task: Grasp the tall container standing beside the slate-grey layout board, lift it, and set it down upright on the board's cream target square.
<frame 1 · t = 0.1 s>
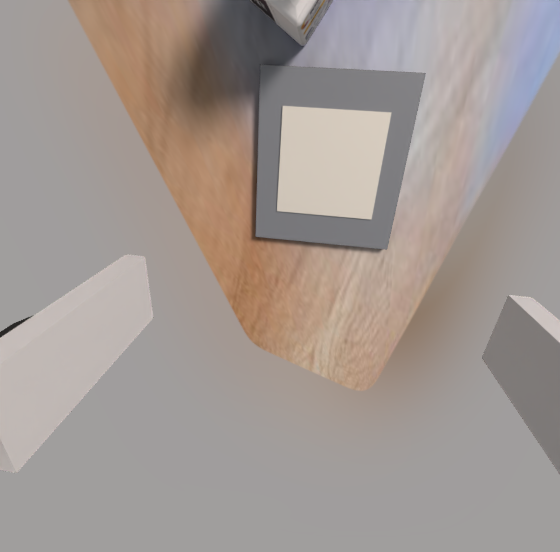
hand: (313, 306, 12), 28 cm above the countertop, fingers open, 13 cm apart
layout board: (329, 164, 36), on the countertop
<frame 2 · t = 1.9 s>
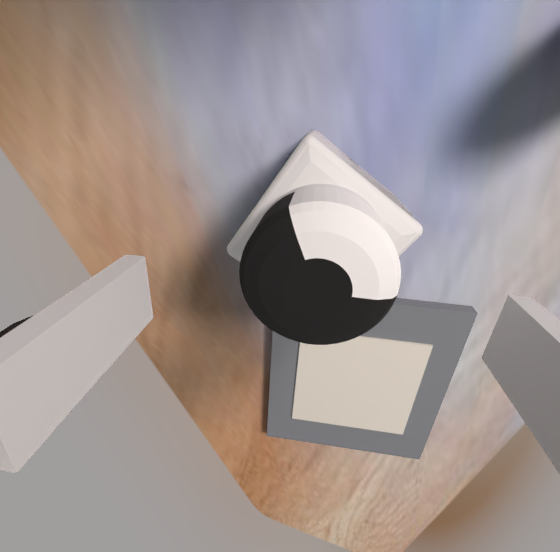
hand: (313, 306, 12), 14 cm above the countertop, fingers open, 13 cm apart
layout board: (354, 376, 31), on the countertop
container: (321, 206, 24), on the countertop
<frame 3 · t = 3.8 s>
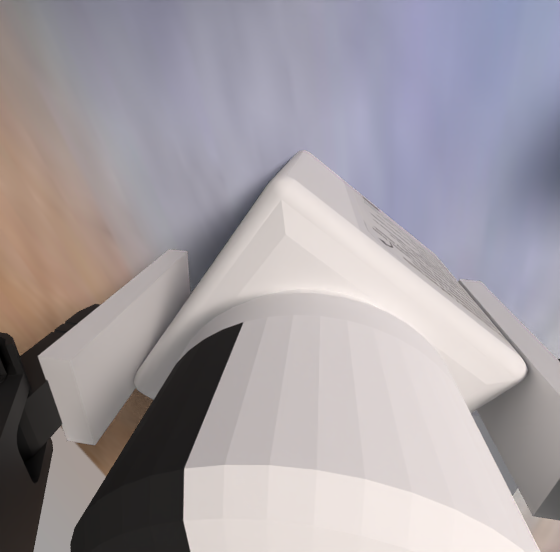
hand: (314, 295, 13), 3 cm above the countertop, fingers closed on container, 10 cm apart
layout board: (364, 488, 22), on the countertop
container: (316, 265, 16), on the countertop, touching gripper
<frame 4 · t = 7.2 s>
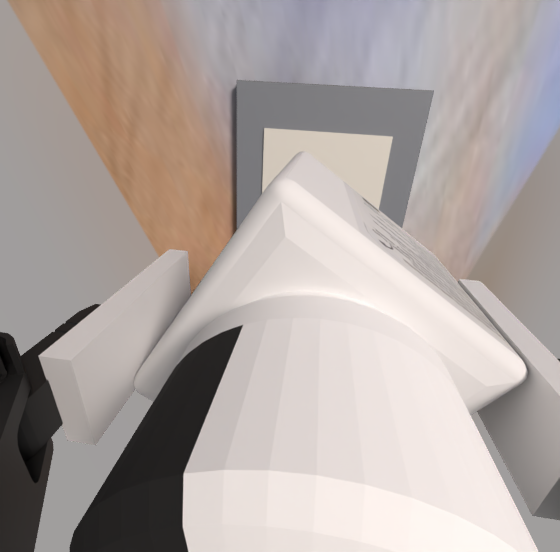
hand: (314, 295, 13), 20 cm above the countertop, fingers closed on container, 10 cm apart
layout board: (320, 194, 31), on the countertop
container: (316, 266, 16), point 17 cm above the countertop, touching gripper
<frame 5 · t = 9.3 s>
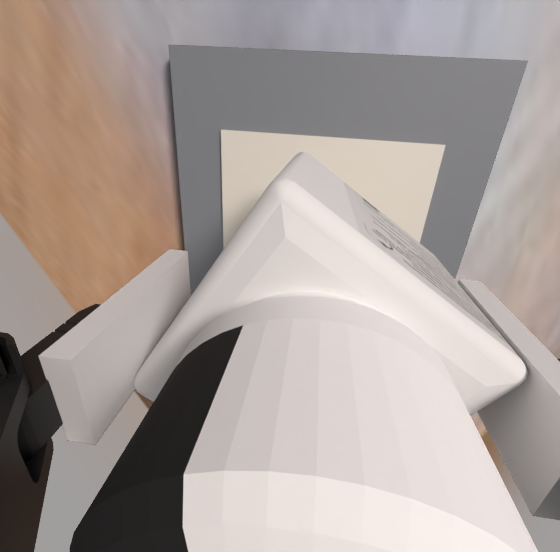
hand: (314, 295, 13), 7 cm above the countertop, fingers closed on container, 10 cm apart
layout board: (318, 235, 19), on the countertop
container: (316, 266, 16), point 4 cm above the countertop, touching gripper
when the fingers open (5 cm above the countertop, at t = 10.8 s): container drops 1 cm, resting on layout board.
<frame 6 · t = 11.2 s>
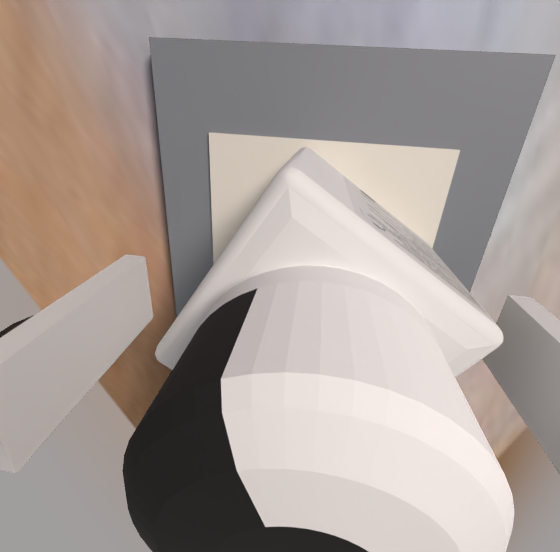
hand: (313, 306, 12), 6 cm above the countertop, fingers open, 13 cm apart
layout board: (317, 248, 18), on the countertop
container: (317, 254, 17), point 1 cm above the countertop, touching layout board
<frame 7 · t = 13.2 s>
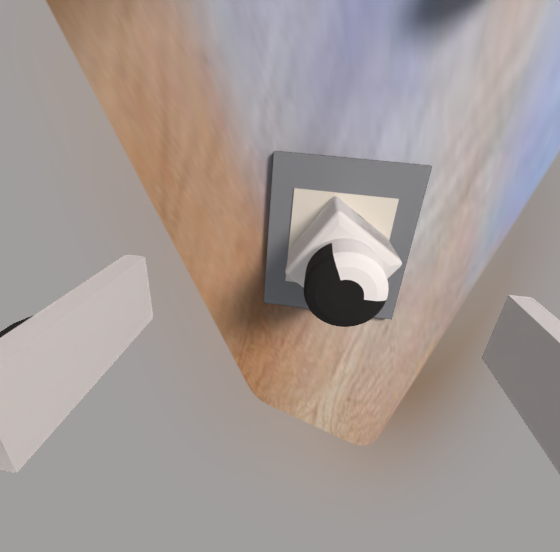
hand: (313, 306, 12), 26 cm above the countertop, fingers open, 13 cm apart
layout board: (337, 239, 37), on the countertop
container: (338, 242, 36), point 1 cm above the countertop, touching layout board
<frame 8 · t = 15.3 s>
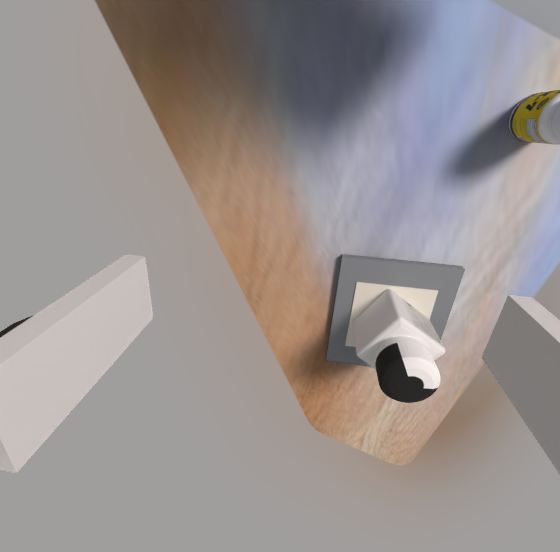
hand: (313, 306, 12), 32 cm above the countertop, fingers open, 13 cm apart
supplement bottle: (530, 117, 35), on the countertop
layout board: (387, 315, 48), on the countertop
container: (389, 319, 47), point 1 cm above the countertop, touching layout board
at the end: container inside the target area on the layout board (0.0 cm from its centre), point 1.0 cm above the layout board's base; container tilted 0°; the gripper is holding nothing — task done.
